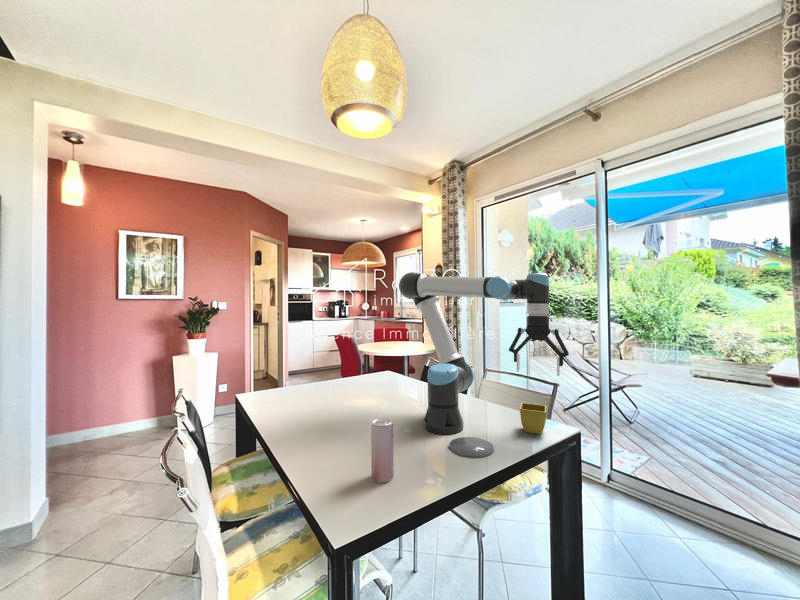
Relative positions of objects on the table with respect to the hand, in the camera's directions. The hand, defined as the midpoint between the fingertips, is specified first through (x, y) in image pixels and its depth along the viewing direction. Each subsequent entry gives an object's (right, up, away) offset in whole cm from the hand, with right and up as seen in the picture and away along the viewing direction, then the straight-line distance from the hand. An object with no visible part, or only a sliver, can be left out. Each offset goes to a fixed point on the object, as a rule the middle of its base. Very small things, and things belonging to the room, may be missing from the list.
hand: (537, 373), depth 119 cm
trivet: (-27, -21, -13) cm, 37 cm away
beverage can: (-55, -21, -32) cm, 67 cm away
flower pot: (-1, -22, 0) cm, 22 cm away
